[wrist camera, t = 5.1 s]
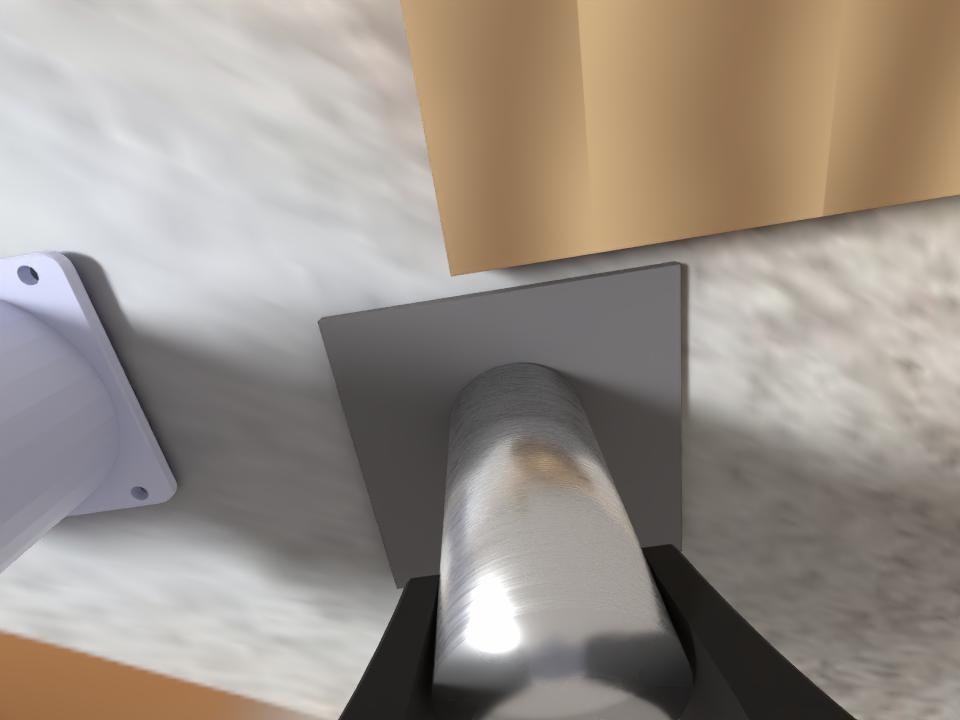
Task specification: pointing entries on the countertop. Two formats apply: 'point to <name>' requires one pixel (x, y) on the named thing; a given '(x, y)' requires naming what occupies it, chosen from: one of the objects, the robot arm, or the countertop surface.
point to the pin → (544, 569)
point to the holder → (676, 117)
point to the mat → (505, 340)
